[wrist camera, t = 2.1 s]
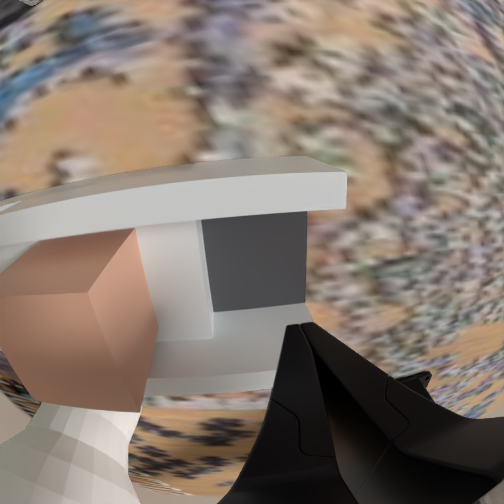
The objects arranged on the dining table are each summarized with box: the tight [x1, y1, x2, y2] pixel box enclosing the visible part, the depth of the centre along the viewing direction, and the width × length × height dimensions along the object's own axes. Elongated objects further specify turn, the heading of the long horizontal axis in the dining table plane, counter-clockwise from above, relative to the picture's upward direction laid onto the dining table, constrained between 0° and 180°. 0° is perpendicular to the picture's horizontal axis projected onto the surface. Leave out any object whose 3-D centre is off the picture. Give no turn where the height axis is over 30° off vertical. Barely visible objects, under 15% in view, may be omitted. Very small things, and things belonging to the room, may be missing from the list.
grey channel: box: [0, 156, 347, 395], centre depth 12 cm, size 9×20×5 cm, turn 94°
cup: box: [0, 402, 142, 504], centre depth 11 cm, size 11×11×15 cm
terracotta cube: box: [0, 228, 159, 413], centre depth 10 cm, size 5×5×5 cm
